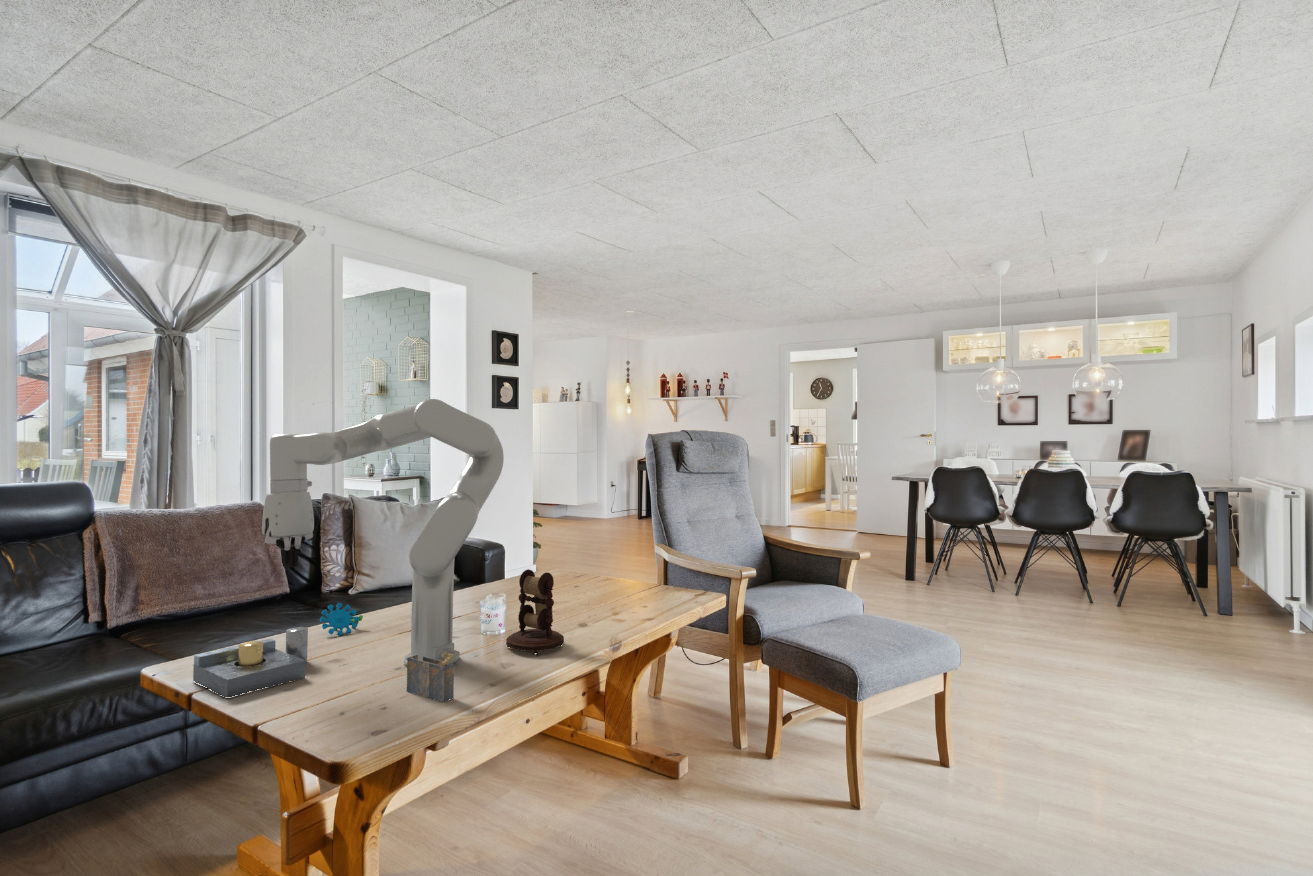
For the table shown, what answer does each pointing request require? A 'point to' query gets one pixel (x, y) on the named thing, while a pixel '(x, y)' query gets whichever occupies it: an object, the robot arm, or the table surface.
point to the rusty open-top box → (431, 677)
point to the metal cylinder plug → (297, 642)
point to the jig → (245, 670)
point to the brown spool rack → (535, 615)
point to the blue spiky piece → (340, 619)
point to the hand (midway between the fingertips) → (289, 566)
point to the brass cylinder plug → (250, 653)
